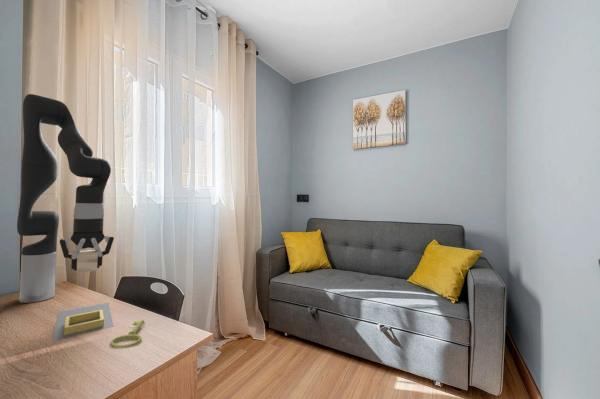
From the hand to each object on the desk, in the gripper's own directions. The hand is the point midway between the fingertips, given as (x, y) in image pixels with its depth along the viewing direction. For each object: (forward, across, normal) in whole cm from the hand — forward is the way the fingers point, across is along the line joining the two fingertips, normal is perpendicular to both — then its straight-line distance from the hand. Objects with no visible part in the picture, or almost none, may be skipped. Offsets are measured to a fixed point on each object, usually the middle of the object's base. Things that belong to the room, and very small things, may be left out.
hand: (86, 268), depth 82 cm
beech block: (0, 0, 0) cm, 0 cm away
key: (+16, -10, +23) cm, 30 cm away
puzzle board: (+16, 0, +5) cm, 16 cm away
